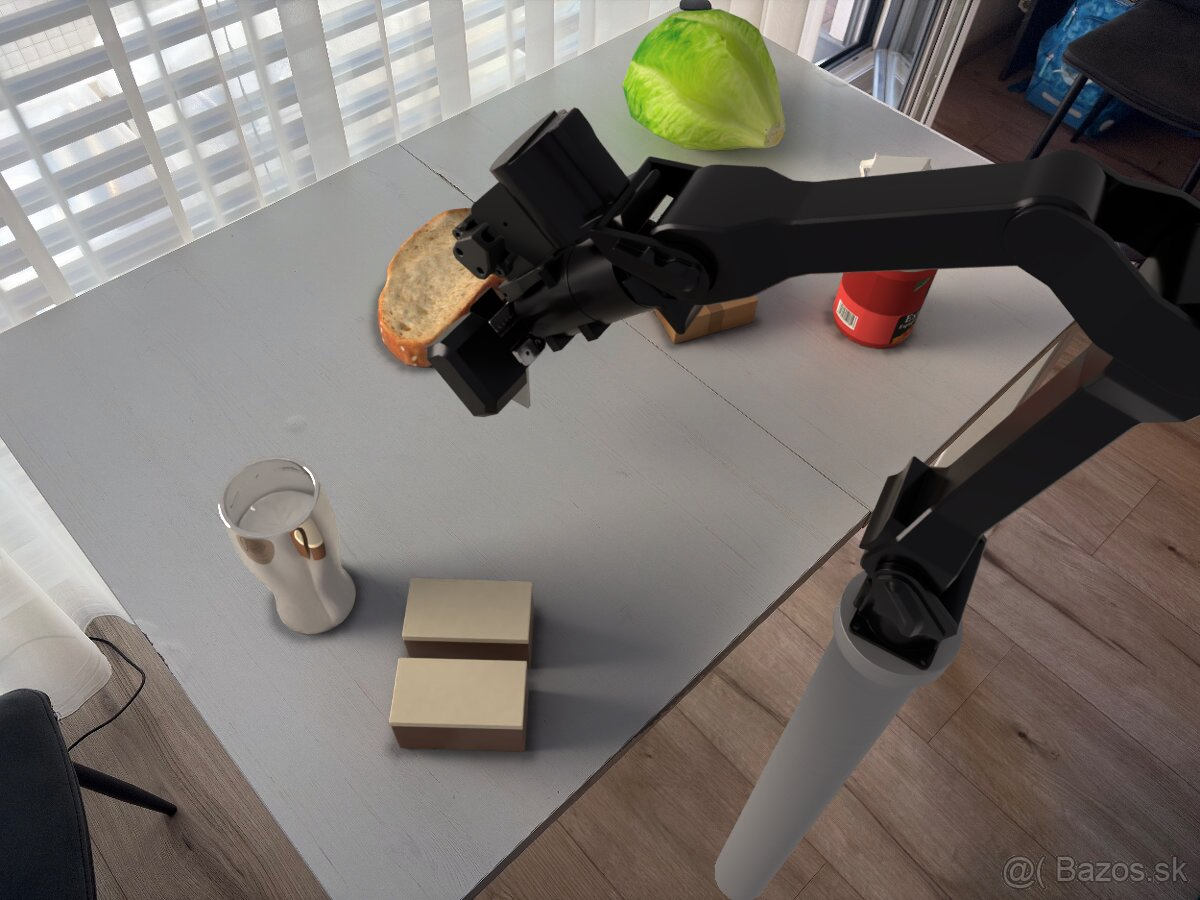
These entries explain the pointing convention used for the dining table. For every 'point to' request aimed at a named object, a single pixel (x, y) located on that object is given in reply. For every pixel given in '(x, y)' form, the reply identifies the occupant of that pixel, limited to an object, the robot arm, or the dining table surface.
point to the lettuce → (706, 83)
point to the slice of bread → (427, 289)
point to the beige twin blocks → (464, 665)
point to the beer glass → (289, 540)
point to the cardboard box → (715, 319)
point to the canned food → (880, 305)
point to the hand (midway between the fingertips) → (481, 326)
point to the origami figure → (894, 165)
